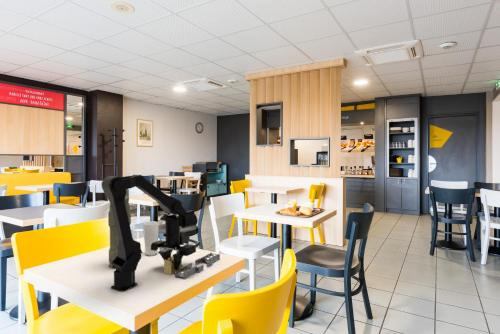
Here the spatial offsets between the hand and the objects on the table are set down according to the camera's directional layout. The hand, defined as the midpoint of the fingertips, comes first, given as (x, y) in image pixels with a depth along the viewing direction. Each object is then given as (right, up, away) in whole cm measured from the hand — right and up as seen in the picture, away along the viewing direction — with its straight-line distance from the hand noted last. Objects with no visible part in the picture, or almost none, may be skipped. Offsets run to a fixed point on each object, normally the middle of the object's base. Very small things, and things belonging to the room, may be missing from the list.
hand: (173, 268), depth 123 cm
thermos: (-24, -1, +7) cm, 25 cm away
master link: (0, -1, 0) cm, 1 cm away
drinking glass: (-16, -1, +22) cm, 27 cm away
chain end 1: (+7, -1, -2) cm, 7 cm away
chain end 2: (+13, -1, +11) cm, 17 cm away
